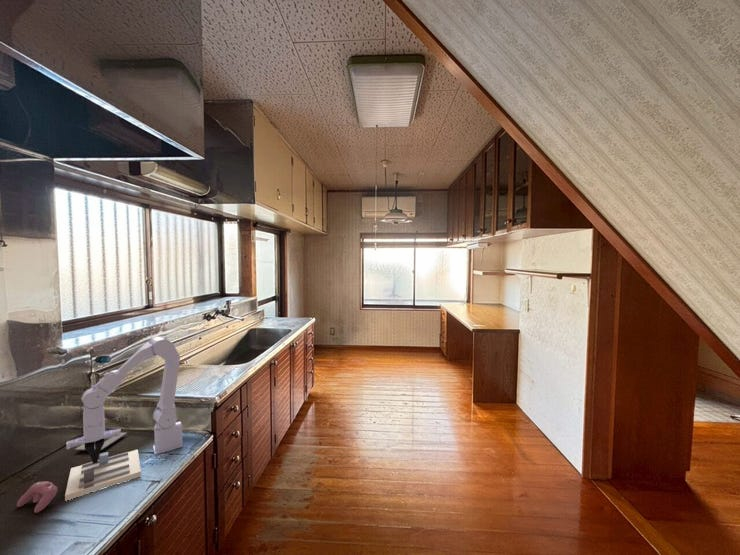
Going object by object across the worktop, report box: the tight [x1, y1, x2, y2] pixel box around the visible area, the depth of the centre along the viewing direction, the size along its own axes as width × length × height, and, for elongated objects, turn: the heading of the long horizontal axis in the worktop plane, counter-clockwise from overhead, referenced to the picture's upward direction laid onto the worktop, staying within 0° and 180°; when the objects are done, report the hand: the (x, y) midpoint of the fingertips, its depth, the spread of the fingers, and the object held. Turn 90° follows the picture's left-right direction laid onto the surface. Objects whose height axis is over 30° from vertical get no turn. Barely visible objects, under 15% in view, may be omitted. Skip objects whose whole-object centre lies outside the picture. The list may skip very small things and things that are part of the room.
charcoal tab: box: [84, 468, 94, 483], centre depth 106 cm, size 2×2×3 cm
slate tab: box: [98, 451, 109, 465], centre depth 116 cm, size 2×2×3 cm
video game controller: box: [16, 480, 58, 514], centre depth 99 cm, size 10×5×7 cm, turn 72°
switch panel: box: [64, 449, 142, 502], centre depth 113 cm, size 19×18×3 cm
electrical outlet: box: [74, 432, 128, 452], centre depth 134 cm, size 13×10×2 cm
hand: (95, 461), depth 115 cm, fingers closed
